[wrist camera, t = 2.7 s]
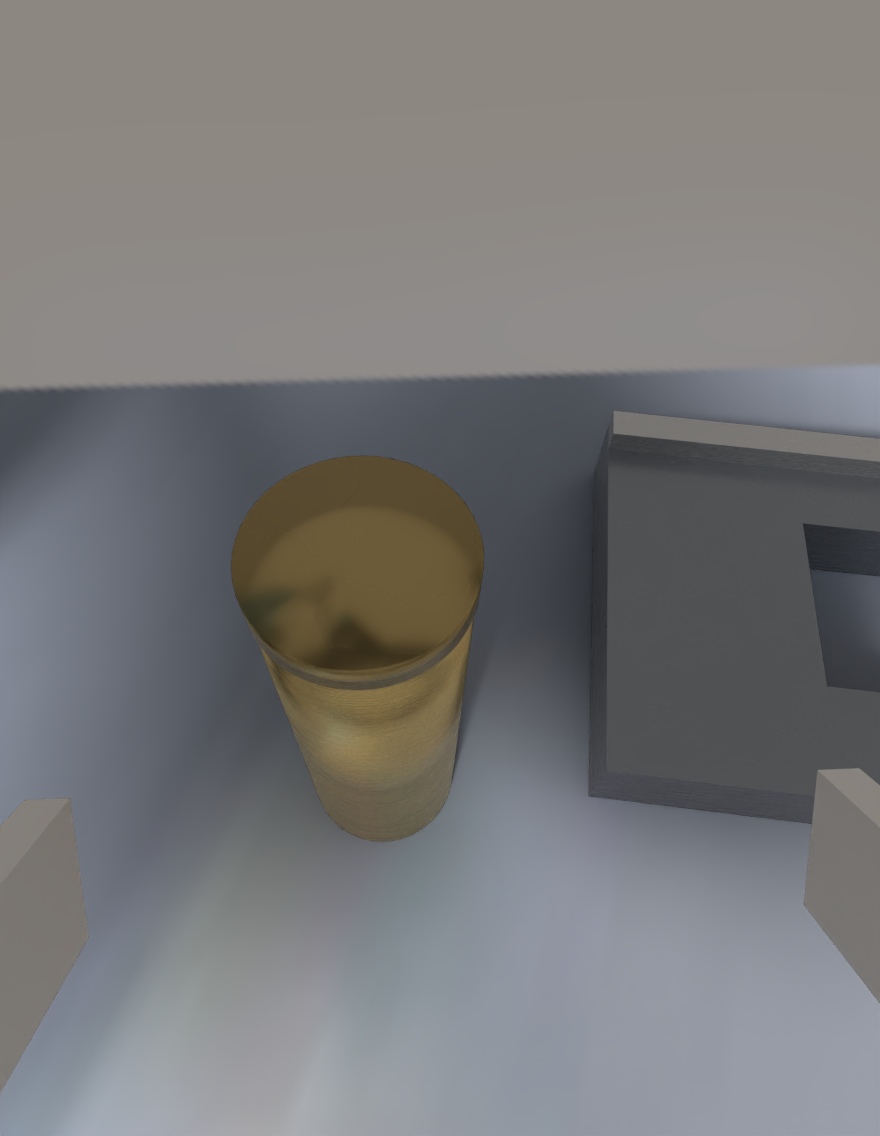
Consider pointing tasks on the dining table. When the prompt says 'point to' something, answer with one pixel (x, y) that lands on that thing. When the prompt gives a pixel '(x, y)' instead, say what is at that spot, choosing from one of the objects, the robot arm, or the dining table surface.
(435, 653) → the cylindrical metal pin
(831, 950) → the dining table surface
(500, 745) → the dining table surface
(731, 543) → the jig
